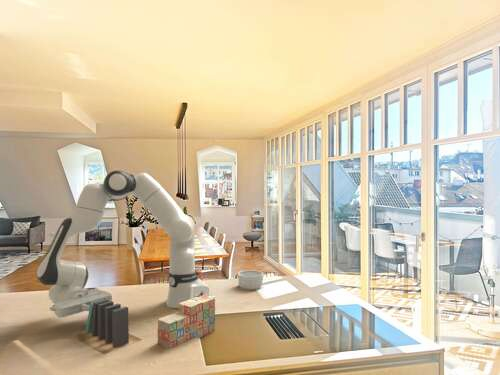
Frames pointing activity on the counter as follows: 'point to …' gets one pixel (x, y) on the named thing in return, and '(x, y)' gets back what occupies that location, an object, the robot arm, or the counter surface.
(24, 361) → the counter surface
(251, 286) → the ramekin
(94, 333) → the domino
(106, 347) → the oak board
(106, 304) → the domino
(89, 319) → the domino
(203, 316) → the stack of blocks
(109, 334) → the domino
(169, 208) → the robot arm
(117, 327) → the domino
